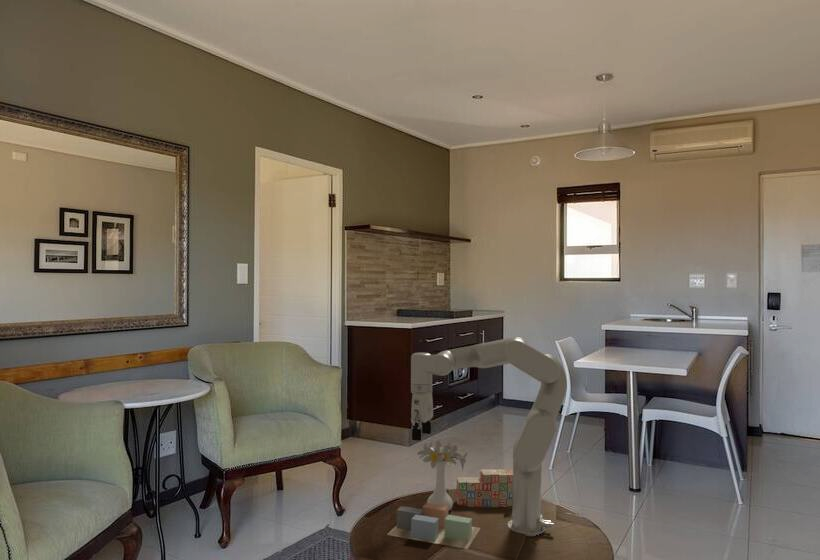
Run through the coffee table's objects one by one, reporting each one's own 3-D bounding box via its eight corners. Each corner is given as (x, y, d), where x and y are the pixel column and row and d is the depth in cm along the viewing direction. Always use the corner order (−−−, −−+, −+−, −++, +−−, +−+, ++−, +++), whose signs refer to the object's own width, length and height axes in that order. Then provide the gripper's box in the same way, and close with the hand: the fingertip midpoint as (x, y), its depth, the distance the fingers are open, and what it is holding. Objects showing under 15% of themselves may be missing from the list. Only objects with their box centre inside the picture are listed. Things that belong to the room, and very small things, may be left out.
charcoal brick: (423, 527, 200) (423, 509, 200) (419, 532, 196) (419, 513, 196) (400, 523, 203) (401, 505, 203) (396, 528, 199) (396, 510, 199)
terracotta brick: (448, 523, 203) (448, 506, 203) (444, 528, 200) (445, 510, 200) (426, 520, 206) (426, 502, 206) (422, 524, 202) (422, 506, 202)
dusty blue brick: (438, 536, 193) (438, 518, 193) (434, 541, 189) (435, 522, 189) (415, 532, 196) (415, 514, 196) (411, 537, 192) (411, 518, 192)
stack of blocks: (458, 507, 221) (458, 474, 221) (456, 501, 228) (456, 468, 228) (515, 507, 222) (515, 474, 222) (511, 501, 228) (512, 469, 228)
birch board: (480, 530, 200) (480, 527, 200) (467, 552, 185) (467, 549, 185) (405, 518, 210) (405, 515, 210) (386, 537, 194) (386, 534, 194)
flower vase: (469, 519, 210) (470, 448, 210) (417, 519, 209) (418, 448, 209) (464, 505, 223) (465, 438, 223) (415, 505, 222) (416, 438, 222)
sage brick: (471, 536, 193) (471, 518, 193) (468, 541, 190) (468, 523, 190) (448, 532, 196) (448, 514, 196) (444, 537, 192) (444, 519, 192)
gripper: (422, 393, 200) (422, 444, 200) (439, 384, 216) (439, 432, 216) (402, 391, 203) (402, 441, 203) (420, 383, 219) (420, 430, 219)
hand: (421, 436), depth 210 cm, fingers open, 9 cm apart
